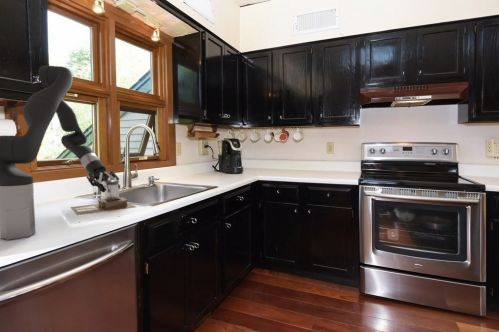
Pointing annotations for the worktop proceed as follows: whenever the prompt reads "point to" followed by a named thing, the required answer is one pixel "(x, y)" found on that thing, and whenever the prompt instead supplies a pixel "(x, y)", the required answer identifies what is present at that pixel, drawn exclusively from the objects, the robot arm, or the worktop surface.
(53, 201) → the worktop surface
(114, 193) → the grey mottled cylinder
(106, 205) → the bore block
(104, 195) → the beer glass
